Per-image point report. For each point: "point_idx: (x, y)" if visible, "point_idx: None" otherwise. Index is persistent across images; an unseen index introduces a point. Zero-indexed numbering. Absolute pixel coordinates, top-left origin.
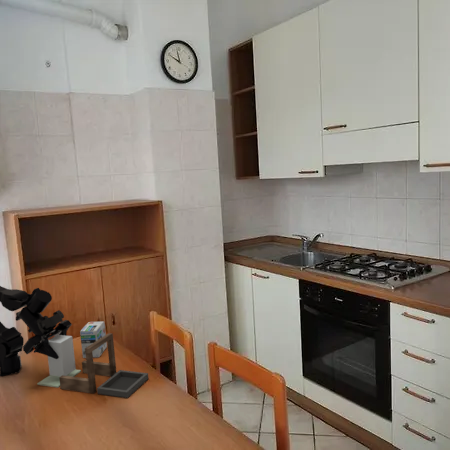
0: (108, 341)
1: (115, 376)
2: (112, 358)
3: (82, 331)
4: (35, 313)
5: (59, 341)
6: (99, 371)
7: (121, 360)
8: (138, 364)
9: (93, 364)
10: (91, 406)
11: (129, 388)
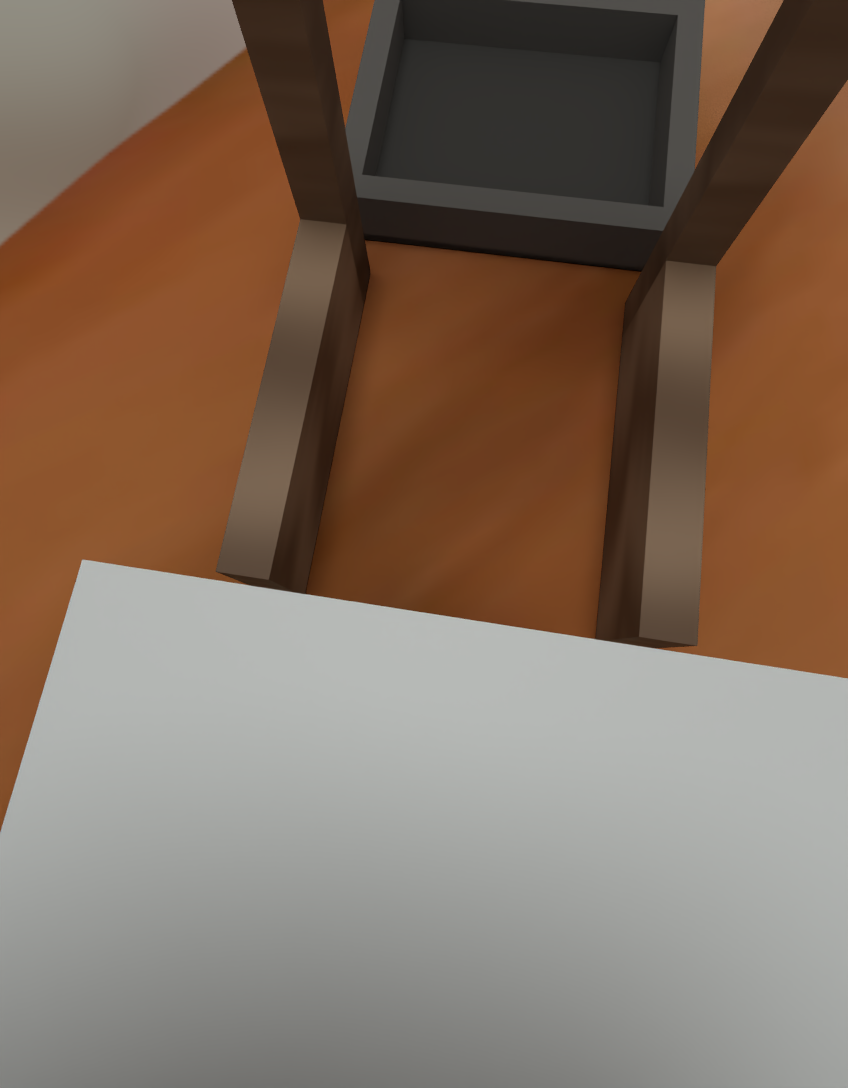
0: None
1: (449, 187)
2: (339, 100)
3: None
4: None
5: (714, 843)
6: (335, 391)
7: (38, 350)
8: (133, 180)
9: (772, 29)
10: (845, 236)
11: (645, 2)
